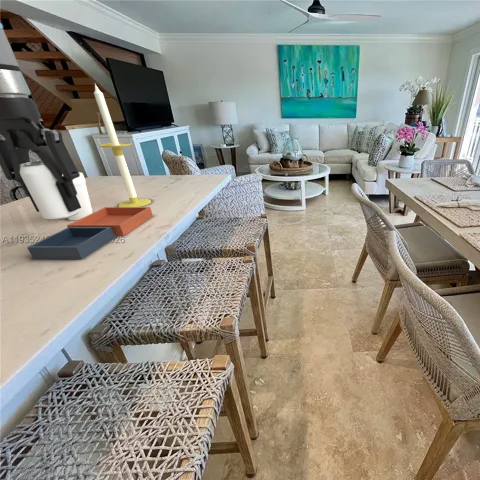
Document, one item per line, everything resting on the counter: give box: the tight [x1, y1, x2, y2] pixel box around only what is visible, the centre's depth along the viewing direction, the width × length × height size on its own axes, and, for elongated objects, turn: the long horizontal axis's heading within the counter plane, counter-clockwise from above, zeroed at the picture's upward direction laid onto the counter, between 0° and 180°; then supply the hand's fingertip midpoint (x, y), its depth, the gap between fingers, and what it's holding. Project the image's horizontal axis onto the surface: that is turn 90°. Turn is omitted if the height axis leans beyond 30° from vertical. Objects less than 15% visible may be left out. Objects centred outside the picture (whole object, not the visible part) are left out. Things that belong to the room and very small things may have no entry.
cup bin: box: [66, 206, 154, 237], centre depth 77 cm, size 14×14×3 cm
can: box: [19, 160, 79, 221], centre depth 59 cm, size 6×6×12 cm
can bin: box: [26, 227, 116, 260], centre depth 65 cm, size 11×11×3 cm
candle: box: [93, 83, 152, 207], centre depth 86 cm, size 10×10×38 cm
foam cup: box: [67, 171, 94, 221], centre depth 81 cm, size 10×9×13 cm
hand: (59, 209), depth 61 cm, fingers closed on can, 6 cm apart
